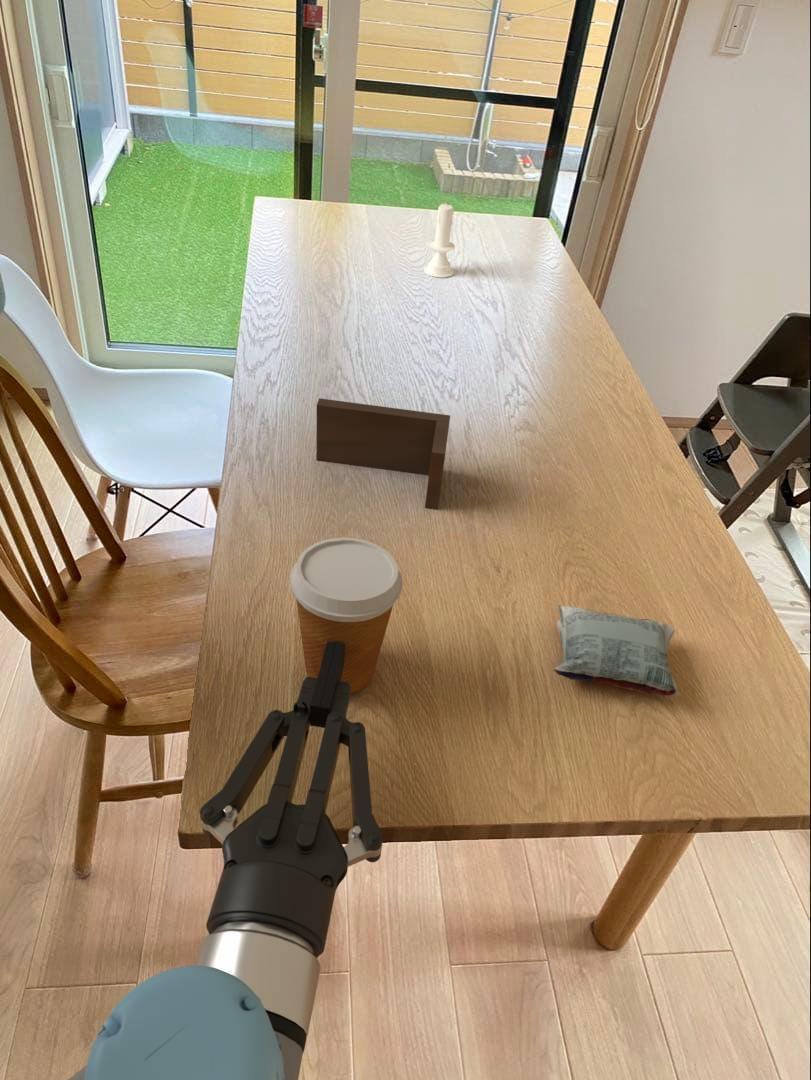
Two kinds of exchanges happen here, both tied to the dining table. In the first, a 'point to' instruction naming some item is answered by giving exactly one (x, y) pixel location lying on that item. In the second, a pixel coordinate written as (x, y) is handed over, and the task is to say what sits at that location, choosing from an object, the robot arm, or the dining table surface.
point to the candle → (441, 244)
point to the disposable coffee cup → (345, 603)
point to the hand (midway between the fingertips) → (335, 653)
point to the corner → (384, 440)
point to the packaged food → (615, 650)
